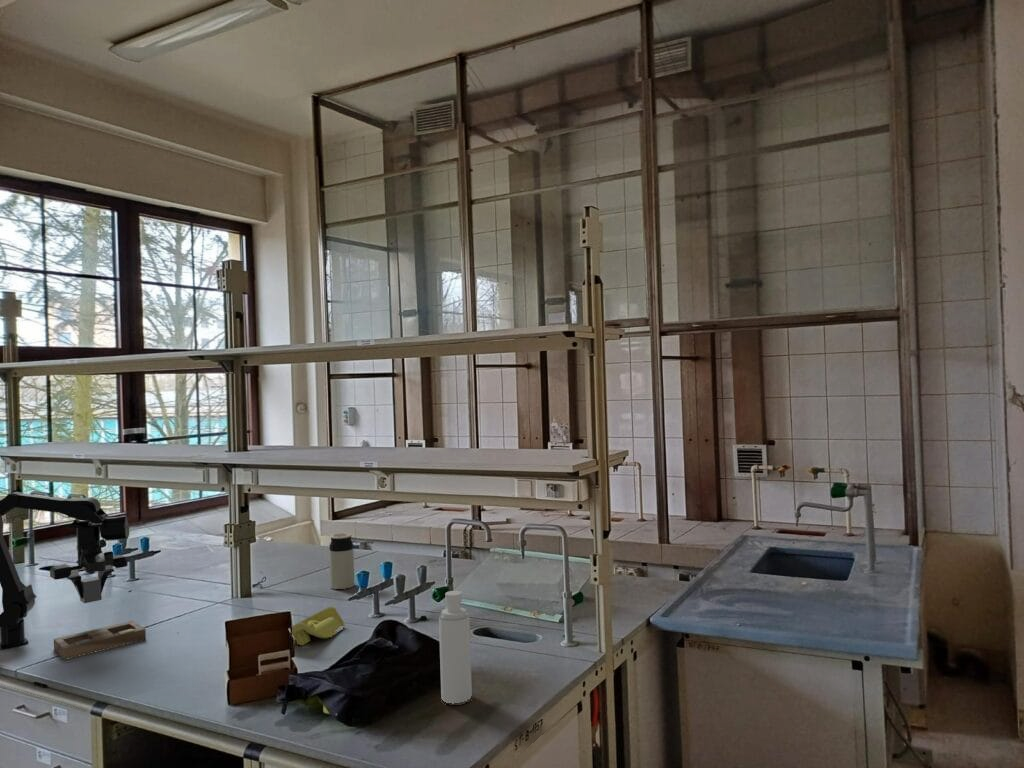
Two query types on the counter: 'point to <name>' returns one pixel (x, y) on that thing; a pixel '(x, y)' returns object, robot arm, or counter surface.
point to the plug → (91, 589)
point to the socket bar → (99, 639)
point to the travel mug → (341, 561)
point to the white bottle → (455, 650)
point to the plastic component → (317, 626)
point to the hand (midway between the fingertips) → (90, 596)
